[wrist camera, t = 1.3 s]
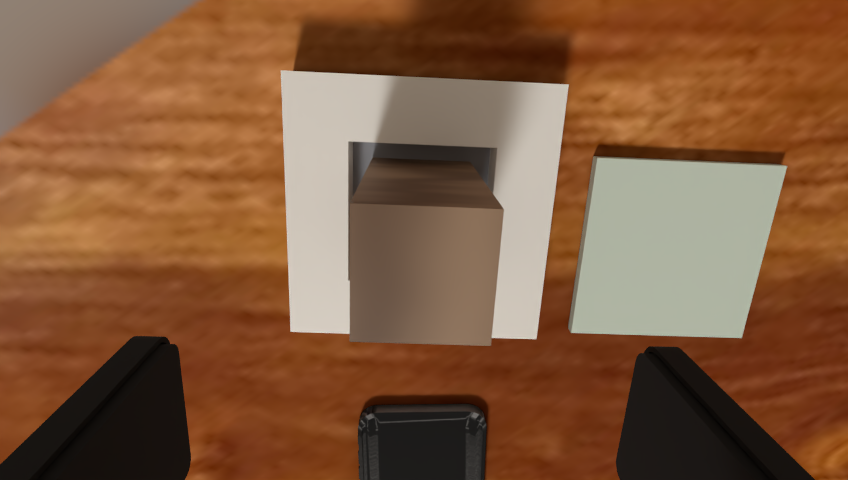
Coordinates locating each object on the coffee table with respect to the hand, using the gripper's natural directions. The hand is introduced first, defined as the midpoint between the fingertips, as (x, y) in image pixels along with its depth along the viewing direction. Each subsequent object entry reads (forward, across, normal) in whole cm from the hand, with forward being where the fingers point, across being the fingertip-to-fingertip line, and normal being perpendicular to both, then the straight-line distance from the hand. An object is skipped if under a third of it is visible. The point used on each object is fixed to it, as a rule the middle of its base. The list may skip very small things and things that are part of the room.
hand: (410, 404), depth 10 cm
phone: (+18, -2, +20) cm, 27 cm away
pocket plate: (+18, -1, 0) cm, 18 cm away
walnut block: (+17, -1, 0) cm, 17 cm away
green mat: (+17, -15, +2) cm, 23 cm away
